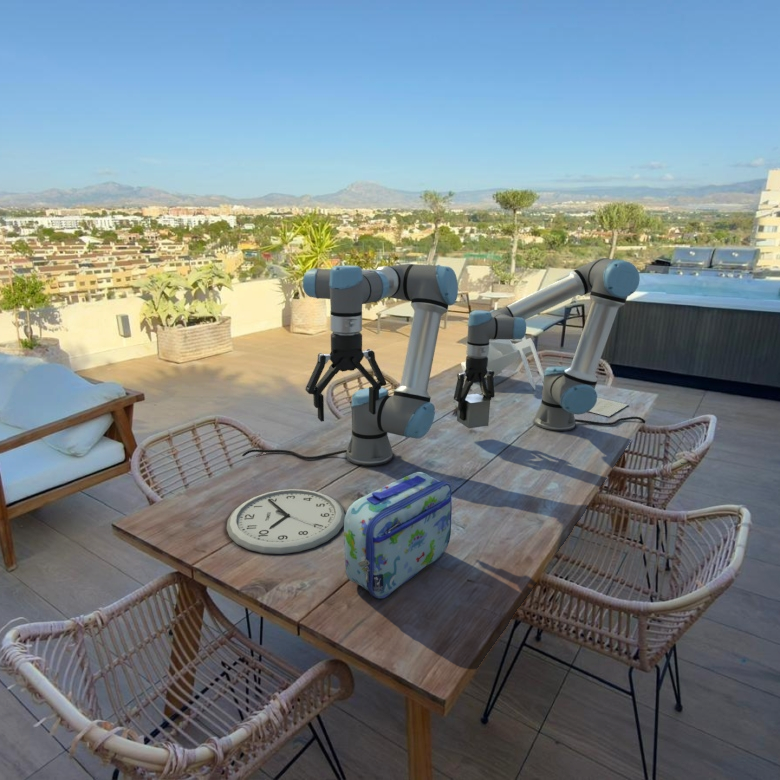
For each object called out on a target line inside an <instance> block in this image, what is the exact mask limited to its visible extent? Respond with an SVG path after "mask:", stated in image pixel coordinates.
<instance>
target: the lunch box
mask: <svg viewBox="0 0 780 780" xmlns="http://www.w3.org/2000/svg"><path fill="white" fill-rule="evenodd" d="M452 507H453V505H452V487H451V484H450V483H449V482H448V481H445V480H438V479H436V478H434V477H432V476H431V475H429V474H427V473H424V472H422V471H417V472H414V473H411V474H409V475H407V476H404V477H401V478H399V479H397V480H395V481H393V482H391V483H388V484H386V485H385V486H383V487H380V488H379V489H376V490H374V491H372V492H370V493H368V494H366V495H364V496H362V497H359V499H356V500H355V501H353V502H352V503H351V504H350V506H349V507H348V508H347V511H346V513H345V520H344V524H343V536H344V537H343V539H344V555H345V556H344V565H345V572H346V576H347V579H348V580H349V581H351V582H353V583H354V584H357V585H359V586H360V587H362V588H363V589H365V590H366V591H368V593H369V594H370V596H373V597H374V598H376V599H385V598H387V597H388V596H390V595H391V594H392V593H393V592H394V591H396V590H397V589H398V588H399V587H400V586H402V585H403V584H405V583H407V582H408V581H409V580H410V579H412V578H414V576H416V575H417V574H418V573H419V572H420V571H421V570H423V569H424V568H426V567H427V566H429V565H431V564H433V563H435V562H436V561H437V560H439V559H440V558H441V557H442V556H443V554H445V552H446V550H447V548H448V546H449V543H450V540H451V535H452V534H451V533H452V515H453V514H452V511H453V510H452V509H453V508H452Z"/></svg>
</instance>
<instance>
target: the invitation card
mask: <svg viewBox="0 0 780 780" xmlns="http://www.w3.org/2000/svg"><path fill="white" fill-rule="evenodd" d="M628 406H629V404H627V403H623V402H618V401H614V400H609V399H605V398H601V397H597V402H596V404H595V406H594V407H593V408H592V409H591V410H590V411H588V412H587V413H593V414H596V415H600V416H604V417H608V418H609V417H611V416H613V415H614V414H616V413H617V412H619V411H621V410H623V409H624V408H626V407H628Z"/></svg>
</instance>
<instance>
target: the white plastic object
mask: <svg viewBox="0 0 780 780" xmlns="http://www.w3.org/2000/svg"><path fill="white" fill-rule="evenodd" d="M535 345H536V344H535V343H534V341H533V339H532V338H531V337H529V338H527V337H526V335H525V336H524V338H522V339H521V341H519V342H516V343H513V342H512V340H511V339H492V340H490V341H489V351H488V356H487V357H488V366H487V370H491V371H494V376H497V375H500V374H502V373H503V371H504V370H505V369H507V367H509V366H510V365H512V364H513V363H515V362H516V361H517V360H519V359H520V358H521V361H522V364H523V367H524V370H525V373H526V377H527V379H528V382H529V384H530V386H531V387H532V389H534V391H536V384H535V380H534V377H533V373H532V372H531V371H532V370H531V368H530V365H529V362H528V358H527V354H529V353H532V356H533V357H534V358H533V359H534V362H535V365H536V368H537V371H538V374H539V377H540V381H541V382H542V383H543V381H544V373H545V371H544V369H543V366H542V364H541V363H542V362H541V360H540V356H539V355H538V351H537V349H536V346H535ZM460 364H461V371H462V373H464V372H465V370H466V360H465V361H462V362H461V363H460Z"/></svg>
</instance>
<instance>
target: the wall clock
mask: <svg viewBox="0 0 780 780" xmlns="http://www.w3.org/2000/svg"><path fill="white" fill-rule="evenodd" d="M345 516H346V513H345V511H344V508H343V507H342V505H341V504H340V503H339V502H338V501H337V500H336V499H334V498H333V497H331V496H329V495H327V494H324V493H322V492H319V491H315V490H309V489H298V488H297V489H295V488H292V489H289V488H288V489H280V490H279V489H278V490H274V491H270V492H269V491H268V492H265V493H262V494H260V495H257V496H254V497H252V498H250V499H248V500H246V501H245V502H243V503H241V504H240V505H239V506H237V508H236V509H234V510H233V511H232V512H231V514H230V516H229V517H228V519H227V522H226V531H227V534H228V537H229V538H230V539H231V540H232V541H233V542H234V543H235V544H236V545H238V546H240V547H242V548H244V549H246V550H248V551H253V552H256V553H261V554H271V555H273V554H274V555H281V554H282V555H283V554H291V553H300V552H303V551H306V550H311V549H314V548H316V547H318V546H320V545H322V544H325V543H328V541H330V540H332V538H334V537H335V536H336V535H338V533H339V532H340V531H341V530H342V528H344V520H345Z"/></svg>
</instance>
